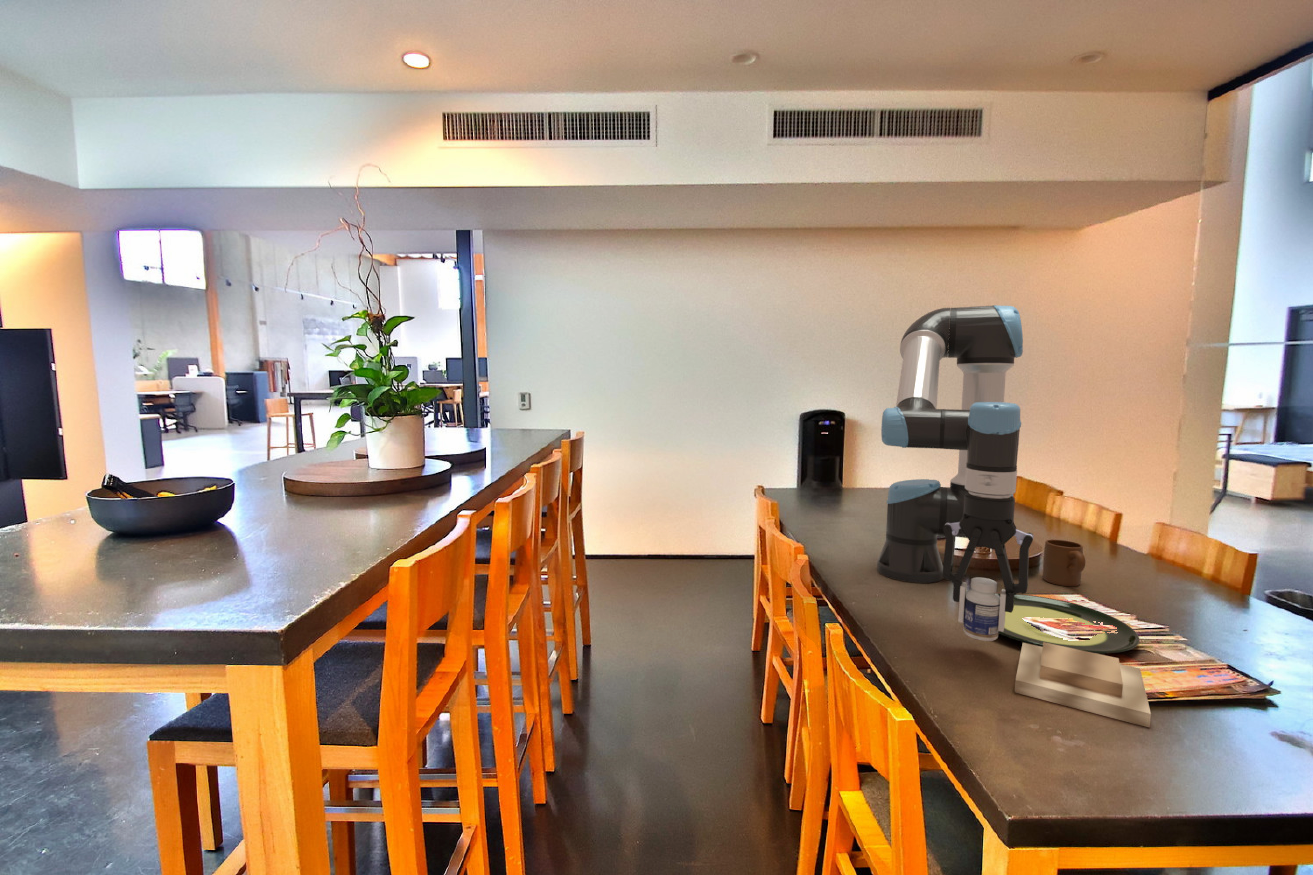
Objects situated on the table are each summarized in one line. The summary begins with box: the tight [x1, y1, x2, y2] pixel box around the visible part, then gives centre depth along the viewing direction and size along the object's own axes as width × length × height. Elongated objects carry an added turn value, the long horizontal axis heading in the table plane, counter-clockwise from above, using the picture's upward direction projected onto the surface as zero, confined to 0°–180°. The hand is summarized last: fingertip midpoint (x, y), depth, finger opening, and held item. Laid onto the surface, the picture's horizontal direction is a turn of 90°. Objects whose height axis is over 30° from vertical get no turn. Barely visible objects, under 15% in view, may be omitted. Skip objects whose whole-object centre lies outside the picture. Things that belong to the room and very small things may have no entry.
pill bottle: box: [962, 576, 1000, 642], centre depth 103 cm, size 5×5×10 cm
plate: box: [997, 593, 1141, 655], centre depth 114 cm, size 28×28×2 cm
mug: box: [1042, 539, 1086, 587], centre depth 139 cm, size 12×8×9 cm, turn 172°
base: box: [1014, 642, 1152, 729], centre depth 93 cm, size 16×16×4 cm
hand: (981, 623), depth 103 cm, fingers closed on pill bottle, 5 cm apart
